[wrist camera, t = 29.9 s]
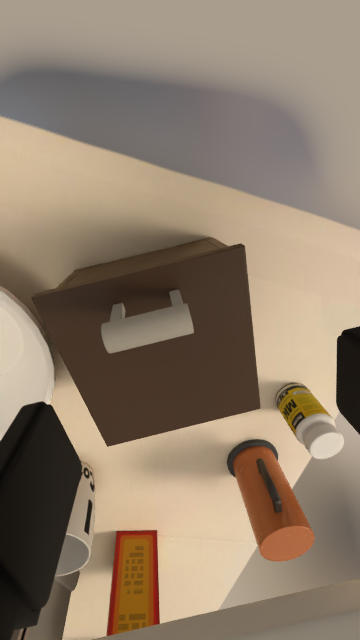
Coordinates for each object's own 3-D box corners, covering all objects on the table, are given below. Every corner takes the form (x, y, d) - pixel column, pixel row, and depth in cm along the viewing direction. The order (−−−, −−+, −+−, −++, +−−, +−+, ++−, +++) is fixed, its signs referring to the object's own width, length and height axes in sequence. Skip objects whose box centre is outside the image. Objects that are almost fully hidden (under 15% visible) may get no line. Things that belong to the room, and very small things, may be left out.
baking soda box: (150, 564, 50) (151, 715, 35) (113, 566, 49) (98, 721, 34) (156, 530, 47) (161, 681, 32) (116, 531, 46) (102, 687, 31)
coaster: (274, 434, 41) (276, 437, 40) (278, 469, 44) (279, 473, 43) (223, 446, 41) (224, 450, 40) (230, 481, 44) (232, 485, 43)
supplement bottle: (278, 382, 37) (312, 430, 30) (311, 381, 38) (353, 428, 30) (271, 411, 39) (302, 463, 32) (304, 410, 40) (341, 460, 32)
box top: (35, 293, 19) (-2, 334, 14) (241, 243, 20) (275, 267, 15) (108, 439, 27) (100, 500, 22) (257, 402, 27) (283, 454, 22)
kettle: (227, 441, 40) (254, 523, 30) (271, 430, 40) (313, 508, 30) (237, 492, 44) (264, 578, 34) (277, 482, 44) (315, 565, 34)
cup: (113, 463, 40) (103, 542, 31) (87, 499, 42) (71, 582, 33) (58, 444, 38) (30, 523, 28) (34, 483, 40) (0, 568, 31)
